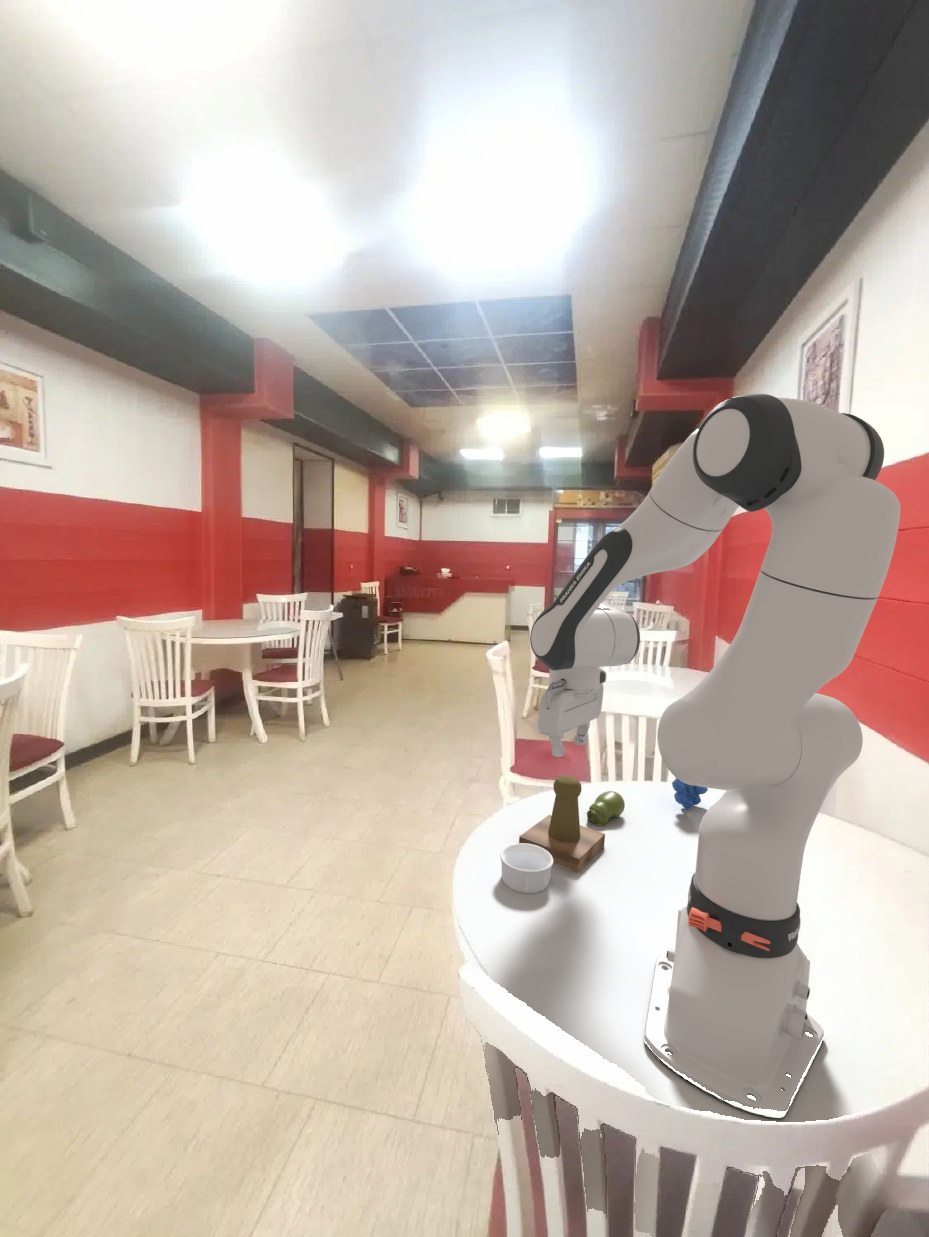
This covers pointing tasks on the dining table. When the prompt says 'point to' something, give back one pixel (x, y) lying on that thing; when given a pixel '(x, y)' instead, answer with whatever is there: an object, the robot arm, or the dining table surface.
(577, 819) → the pepper mill
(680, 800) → the grapes
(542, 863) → the ramekin
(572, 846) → the walnut block
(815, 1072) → the dining table surface
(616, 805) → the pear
